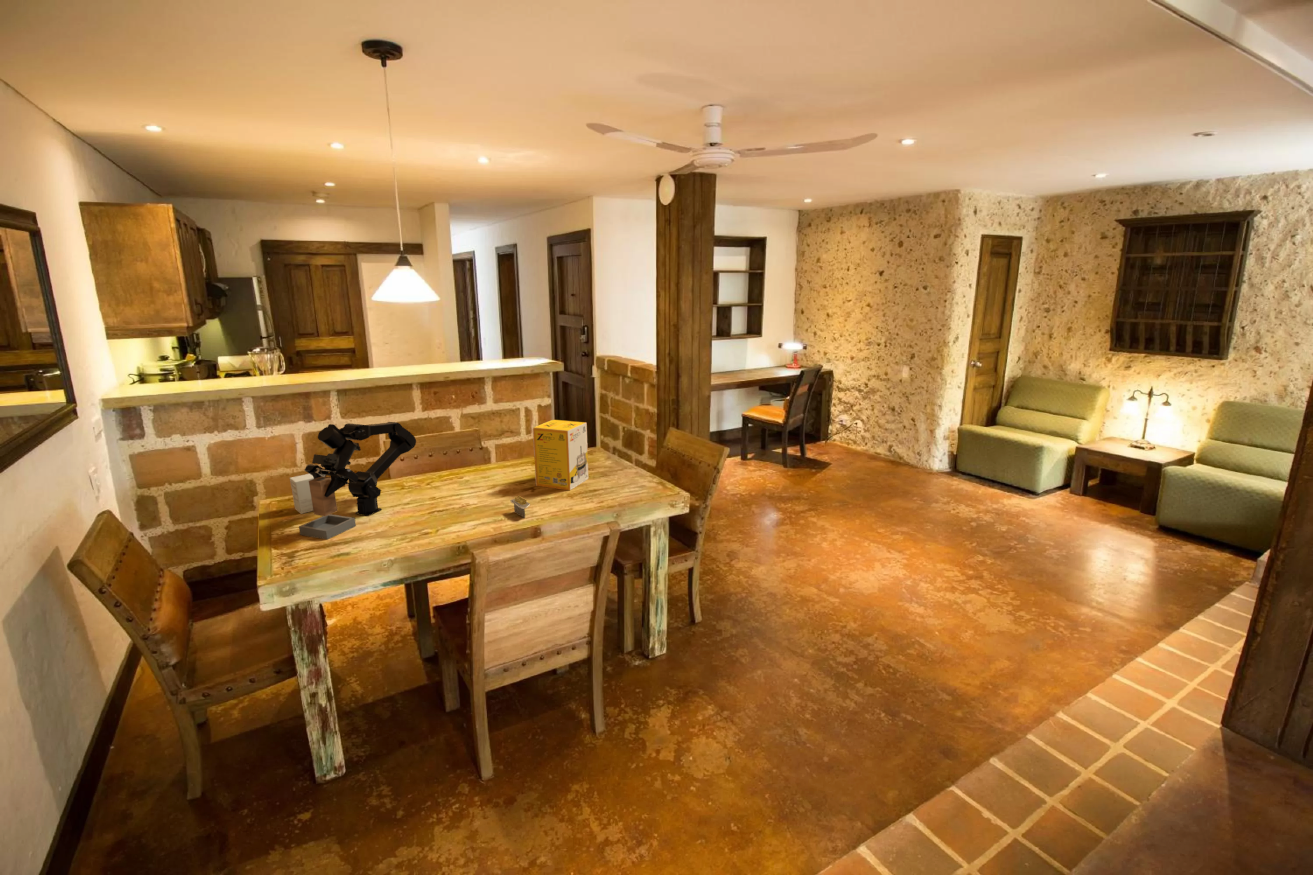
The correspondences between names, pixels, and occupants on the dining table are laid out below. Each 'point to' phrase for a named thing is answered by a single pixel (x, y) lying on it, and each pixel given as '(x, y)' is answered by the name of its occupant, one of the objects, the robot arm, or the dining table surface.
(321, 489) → the block
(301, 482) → the supplement box
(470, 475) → the dining table surface
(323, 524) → the tray
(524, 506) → the platform
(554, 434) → the packaging box
